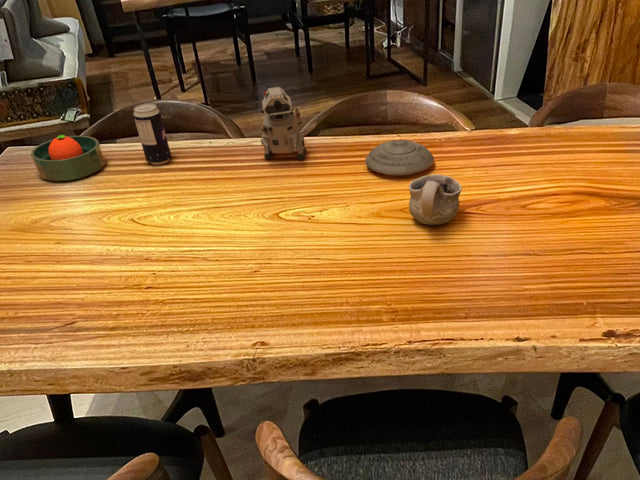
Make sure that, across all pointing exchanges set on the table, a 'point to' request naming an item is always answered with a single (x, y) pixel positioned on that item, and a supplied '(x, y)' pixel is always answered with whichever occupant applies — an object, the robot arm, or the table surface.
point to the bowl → (69, 161)
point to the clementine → (64, 148)
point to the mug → (434, 199)
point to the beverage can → (152, 134)
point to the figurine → (281, 125)
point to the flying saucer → (399, 158)
